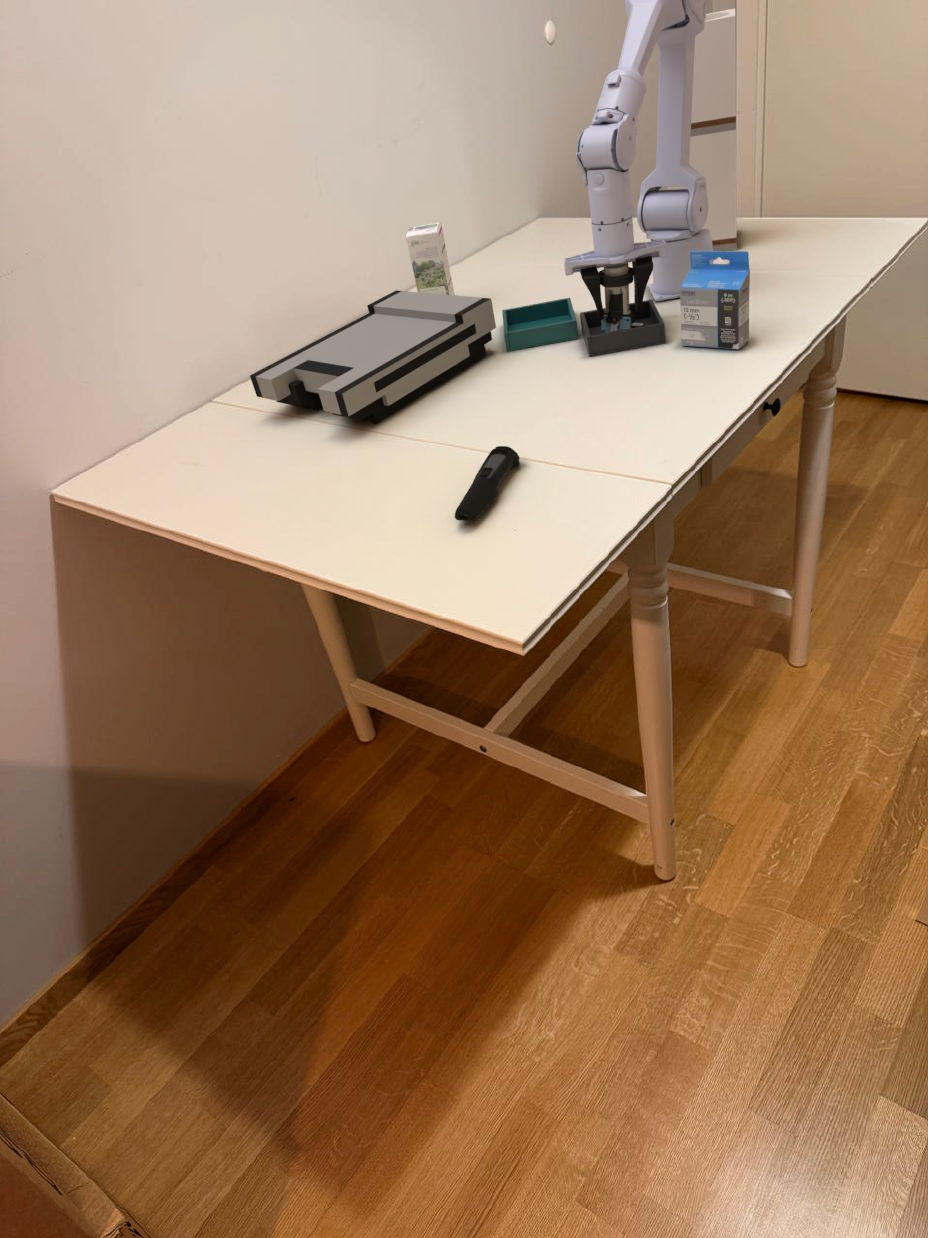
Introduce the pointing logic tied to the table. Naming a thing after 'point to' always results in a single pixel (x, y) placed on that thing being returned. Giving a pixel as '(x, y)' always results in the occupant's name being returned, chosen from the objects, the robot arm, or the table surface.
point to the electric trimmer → (486, 483)
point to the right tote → (623, 331)
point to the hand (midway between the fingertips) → (619, 314)
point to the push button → (617, 298)
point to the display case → (716, 125)
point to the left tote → (539, 324)
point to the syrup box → (429, 259)
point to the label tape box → (716, 300)
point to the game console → (383, 356)
